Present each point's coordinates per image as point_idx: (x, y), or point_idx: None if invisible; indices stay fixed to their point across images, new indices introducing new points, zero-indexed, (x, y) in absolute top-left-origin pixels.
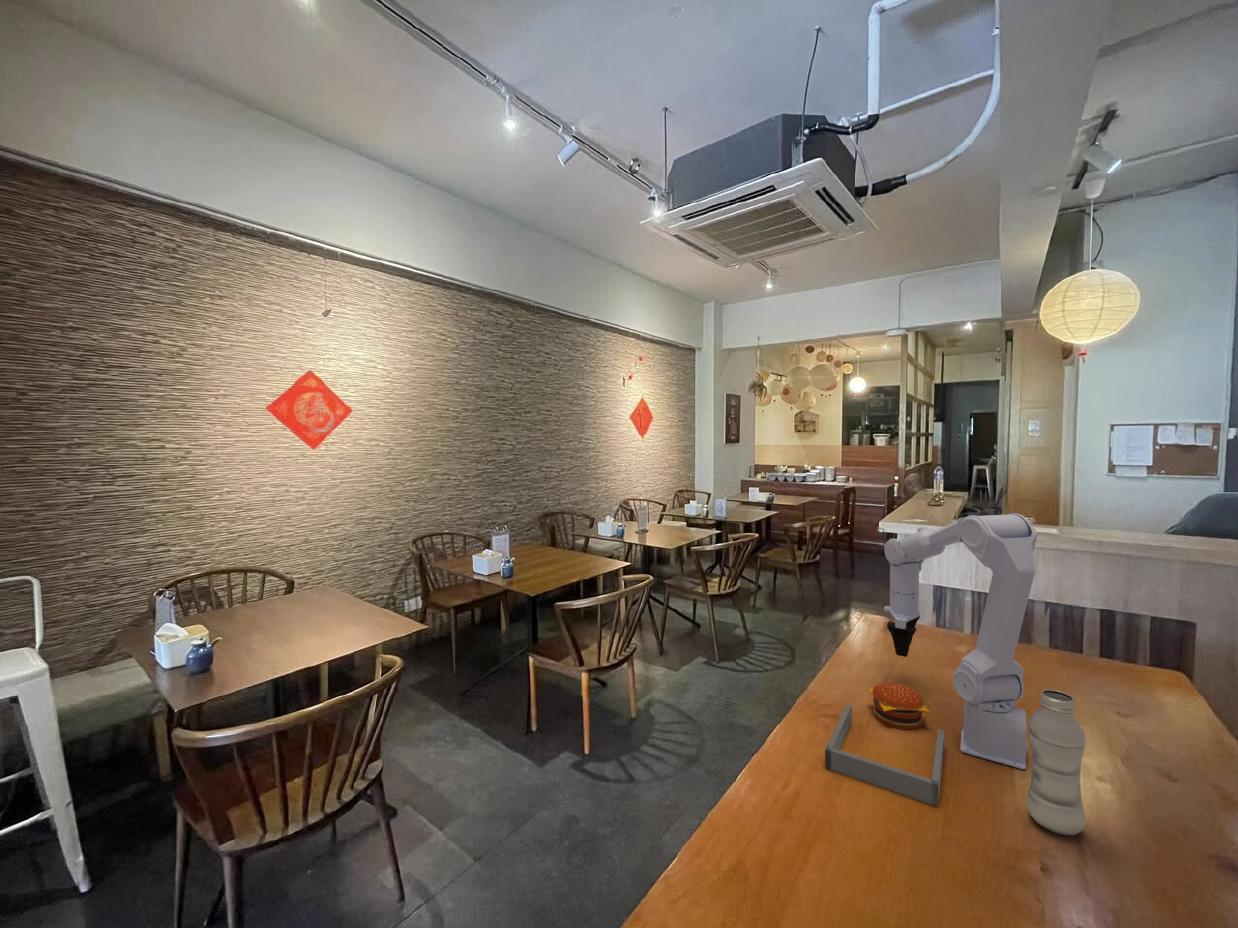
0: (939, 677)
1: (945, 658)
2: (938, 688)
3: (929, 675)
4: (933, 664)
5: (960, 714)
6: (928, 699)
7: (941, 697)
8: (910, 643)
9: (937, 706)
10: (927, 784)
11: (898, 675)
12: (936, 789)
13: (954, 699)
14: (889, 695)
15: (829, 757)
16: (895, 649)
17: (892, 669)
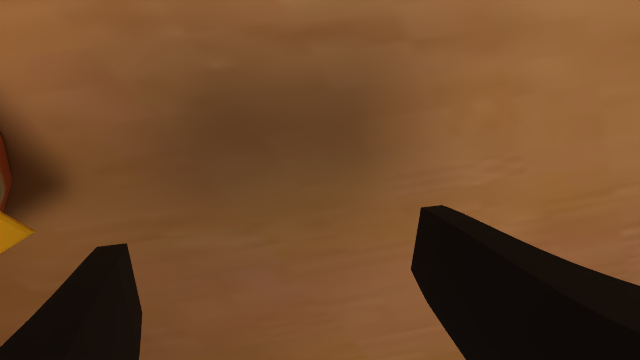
0: None
1: (612, 209)
2: (340, 238)
3: (447, 192)
4: (553, 186)
5: (153, 330)
6: (209, 229)
7: (262, 260)
8: (417, 277)
9: (164, 265)
10: None
11: (395, 83)
12: None
13: (272, 293)
14: None
15: None
16: (67, 279)
17: (453, 47)
